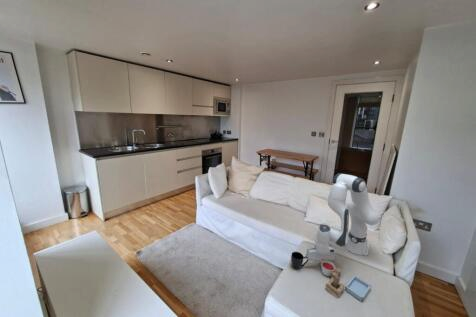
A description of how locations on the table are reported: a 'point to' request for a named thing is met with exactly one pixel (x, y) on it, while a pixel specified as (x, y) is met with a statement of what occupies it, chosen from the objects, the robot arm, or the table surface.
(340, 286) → the socket block
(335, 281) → the dowel
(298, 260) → the mug
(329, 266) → the candle
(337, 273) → the block
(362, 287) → the tray
